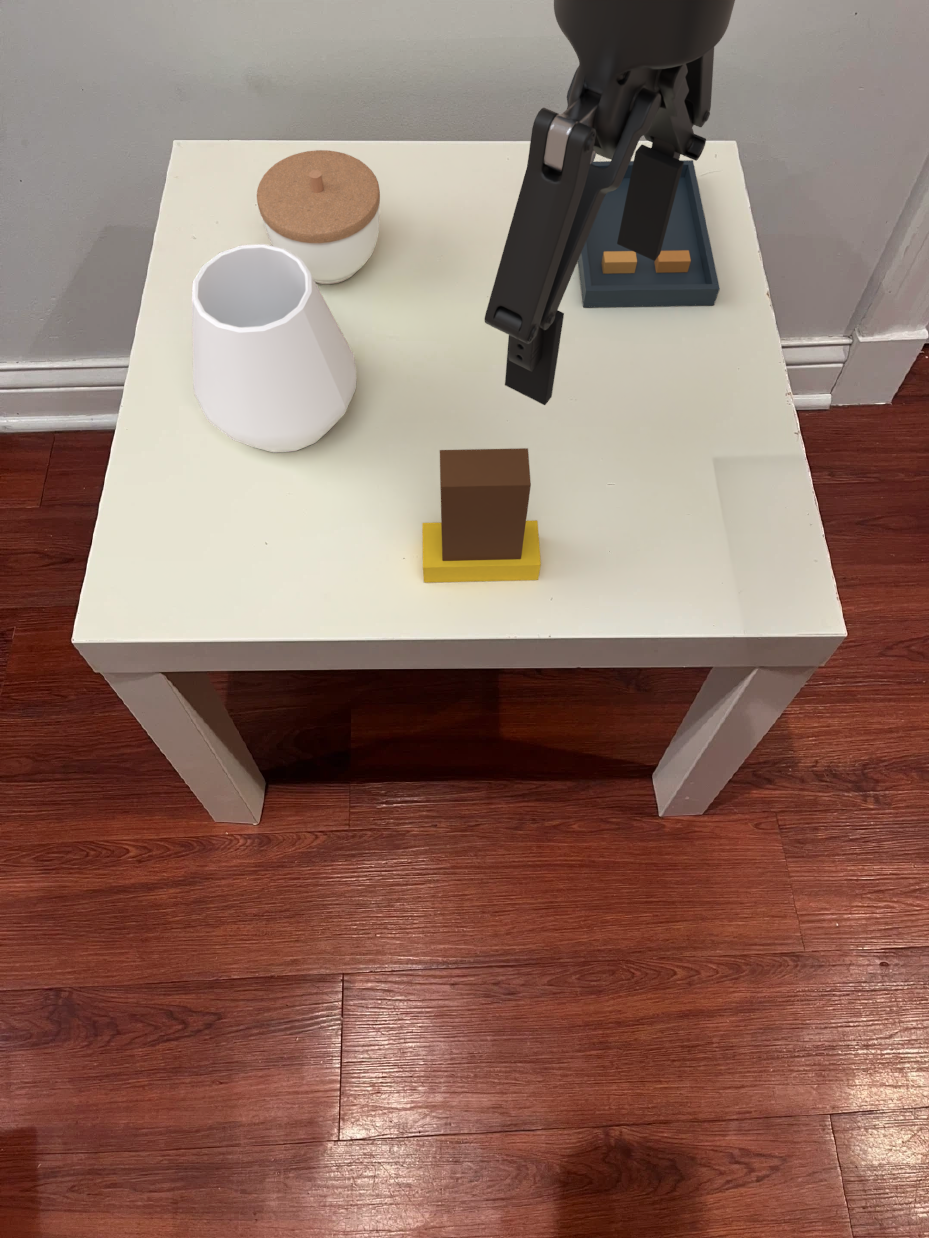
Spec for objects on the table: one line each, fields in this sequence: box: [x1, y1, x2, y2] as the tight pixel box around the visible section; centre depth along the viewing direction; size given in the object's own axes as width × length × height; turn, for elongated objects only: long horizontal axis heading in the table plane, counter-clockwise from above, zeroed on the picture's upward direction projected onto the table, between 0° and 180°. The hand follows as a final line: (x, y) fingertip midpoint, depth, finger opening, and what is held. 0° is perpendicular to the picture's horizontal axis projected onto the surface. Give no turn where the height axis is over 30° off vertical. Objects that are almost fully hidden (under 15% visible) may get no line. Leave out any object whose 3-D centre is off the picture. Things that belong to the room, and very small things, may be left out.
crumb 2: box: [654, 250, 691, 273], centre depth 84 cm, size 1×3×1 cm, turn 92°
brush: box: [421, 447, 542, 583], centre depth 66 cm, size 9×4×12 cm, turn 92°
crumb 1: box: [602, 251, 637, 274], centre depth 84 cm, size 1×3×1 cm, turn 92°
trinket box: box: [256, 149, 381, 285], centre depth 81 cm, size 11×11×9 cm
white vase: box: [191, 243, 357, 454], centre depth 71 cm, size 13×13×14 cm
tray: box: [577, 159, 721, 309], centre depth 86 cm, size 17×12×2 cm
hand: (585, 317), depth 54 cm, fingers open, 13 cm apart
